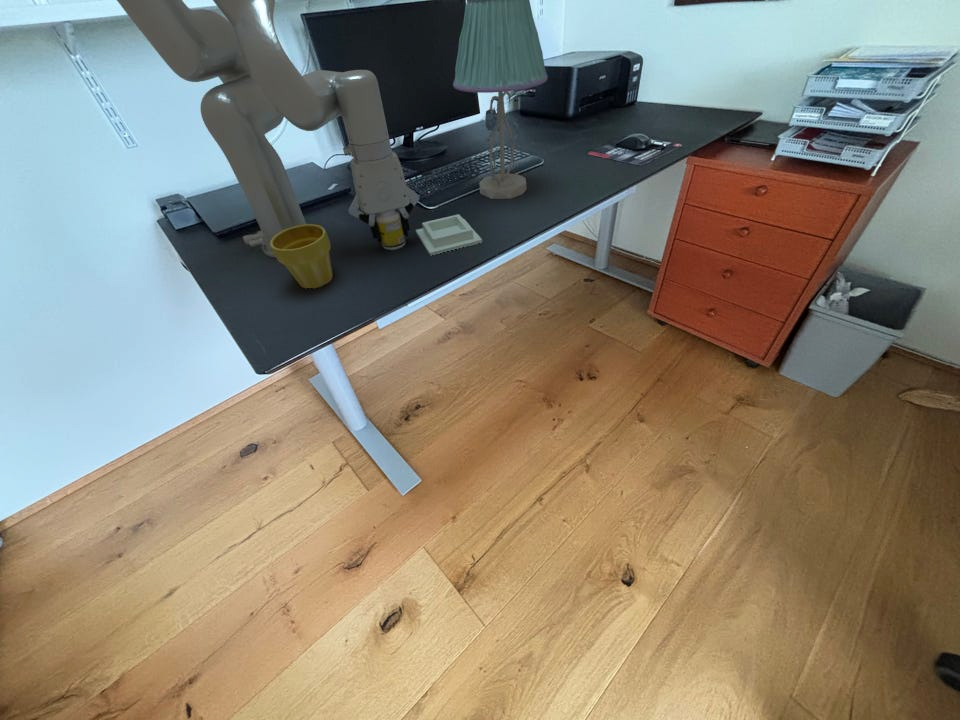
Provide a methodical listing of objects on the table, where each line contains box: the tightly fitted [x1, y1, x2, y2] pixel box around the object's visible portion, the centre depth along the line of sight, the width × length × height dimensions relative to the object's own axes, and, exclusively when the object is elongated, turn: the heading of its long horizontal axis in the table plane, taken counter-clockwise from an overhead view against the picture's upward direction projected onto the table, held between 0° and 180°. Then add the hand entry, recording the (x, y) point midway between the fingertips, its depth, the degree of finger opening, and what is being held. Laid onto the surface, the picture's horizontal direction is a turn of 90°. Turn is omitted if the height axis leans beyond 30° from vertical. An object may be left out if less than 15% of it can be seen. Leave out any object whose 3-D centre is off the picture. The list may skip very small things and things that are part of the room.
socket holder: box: [415, 214, 483, 257], centre depth 91 cm, size 12×12×3 cm
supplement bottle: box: [375, 209, 407, 251], centre depth 88 cm, size 5×5×10 cm
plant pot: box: [270, 223, 334, 290], centre depth 79 cm, size 10×10×10 cm
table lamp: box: [452, 0, 549, 200], centre depth 96 cm, size 22×22×40 cm
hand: (392, 236), depth 90 cm, fingers closed on supplement bottle, 5 cm apart
